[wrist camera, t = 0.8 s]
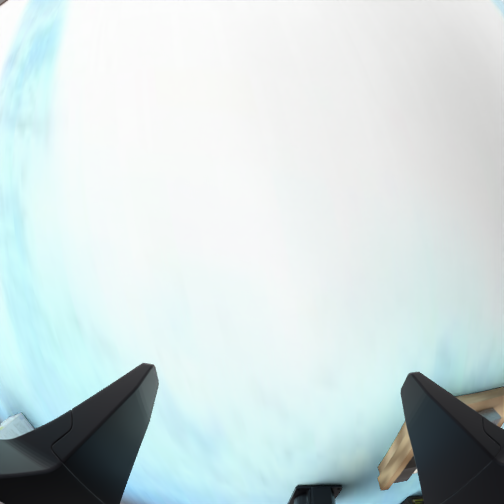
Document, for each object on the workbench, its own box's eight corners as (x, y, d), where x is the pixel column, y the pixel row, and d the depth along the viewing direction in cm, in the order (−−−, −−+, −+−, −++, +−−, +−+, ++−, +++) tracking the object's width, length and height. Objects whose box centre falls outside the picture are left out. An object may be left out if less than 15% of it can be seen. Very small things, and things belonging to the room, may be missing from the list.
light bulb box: (27, 440, 33) (2, 465, 23) (8, 416, 33) (-20, 439, 22) (43, 438, 32) (14, 469, 21) (21, 411, 31) (-11, 438, 20)
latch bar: (424, 437, 21) (432, 452, 19) (435, 417, 21) (445, 432, 18) (483, 423, 21) (492, 434, 18) (494, 404, 20) (504, 415, 17)
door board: (478, 445, 24) (488, 460, 20) (373, 468, 25) (379, 491, 21) (515, 383, 22) (530, 397, 18) (411, 402, 23) (425, 425, 19)
